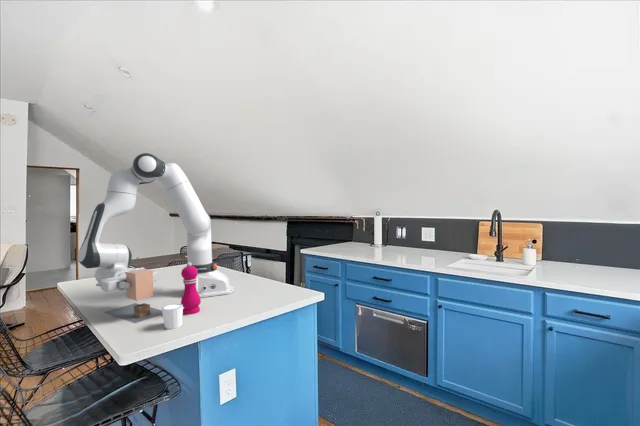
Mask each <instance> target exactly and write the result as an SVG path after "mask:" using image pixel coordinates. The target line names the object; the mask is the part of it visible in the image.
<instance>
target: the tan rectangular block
mask: <svg viewBox="0 0 640 426" xmlns="http://www.w3.org/2000/svg"><path fill="white" fill-rule="evenodd" d="M153 271H154V270H152V269H149V270H147V269H146V268H145V269H139V270H134V271H128V272H126V282H132V287H130V288H127V289H126V298H127V299H130V300H133V301H141V300H145V299H147V298H152V297H154V281H153Z"/></svg>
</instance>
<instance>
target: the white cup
mask: <svg viewBox="0 0 640 426" xmlns="http://www.w3.org/2000/svg"><path fill="white" fill-rule="evenodd" d="M183 309H184V307H183V305H182V304H181V303H172V304H168V305H164V306H163V307H161V310H162V319H163V326H164V328H166V329H165V330H174V328H175V329H178V327H179V328H180V326H181V325H182V326H183V315H184V314H183ZM182 326H181V327H182Z"/></svg>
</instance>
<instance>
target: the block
mask: <svg viewBox="0 0 640 426" xmlns="http://www.w3.org/2000/svg"><path fill="white" fill-rule="evenodd" d="M138 304H139V305H136V306H134V316H135V317H138V318H142V317H145V316H148V315H150V307H151V304H149V303H145V302H143V303H138Z"/></svg>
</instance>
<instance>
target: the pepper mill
mask: <svg viewBox="0 0 640 426" xmlns="http://www.w3.org/2000/svg"><path fill="white" fill-rule="evenodd" d="M191 265H192V264H191V263H190V262H188V261H187V263H186V266H185V267H183V268H182V269H181V273H180V274H181V277H182V278H183V279H182V283H183V284H184V291H183V294H182V296H181V299H180V304H182V305H183V315H186V316H189V315H195V314H198V313H200V310H201V307H200V304H201V302H202V300H201V298H200V296H199V294H198V292H197V289H196V282H197V280H196V279H197V278H196V276H197V275H198V270H197V269H196V268H195V267H193V266H191Z"/></svg>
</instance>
